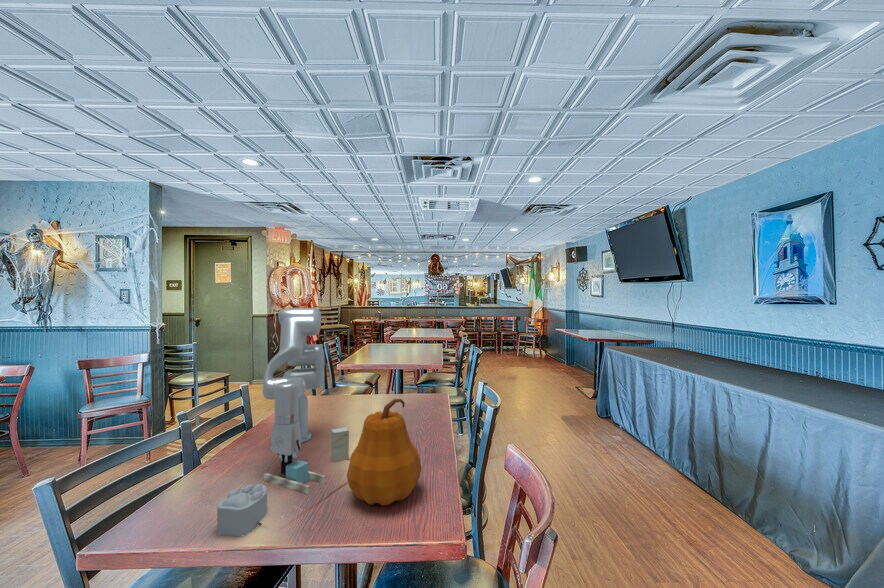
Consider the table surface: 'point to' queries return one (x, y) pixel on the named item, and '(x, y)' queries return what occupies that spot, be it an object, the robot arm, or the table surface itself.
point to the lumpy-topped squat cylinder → (242, 510)
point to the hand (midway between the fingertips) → (286, 471)
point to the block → (297, 471)
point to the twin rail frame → (293, 484)
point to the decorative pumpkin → (384, 459)
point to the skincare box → (339, 444)
